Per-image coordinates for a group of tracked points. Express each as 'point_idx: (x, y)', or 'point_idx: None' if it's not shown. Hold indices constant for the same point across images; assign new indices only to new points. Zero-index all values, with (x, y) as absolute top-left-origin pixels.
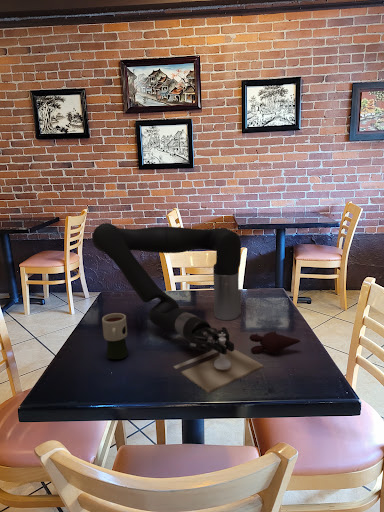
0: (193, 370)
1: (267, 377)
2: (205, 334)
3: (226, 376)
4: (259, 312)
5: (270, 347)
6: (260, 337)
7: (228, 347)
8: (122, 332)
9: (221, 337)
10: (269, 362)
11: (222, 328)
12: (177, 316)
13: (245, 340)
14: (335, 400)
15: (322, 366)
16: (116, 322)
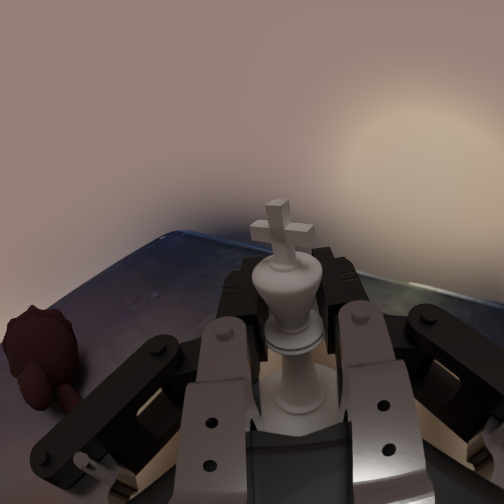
0: (448, 454)
1: (206, 310)
2: (398, 463)
3: (329, 358)
4: None
5: (71, 343)
6: (33, 364)
7: (265, 304)
8: None
9: (291, 258)
10: (123, 355)
11: (55, 466)
12: None
13: (26, 489)
14: (194, 231)
15: (95, 285)
16: None
